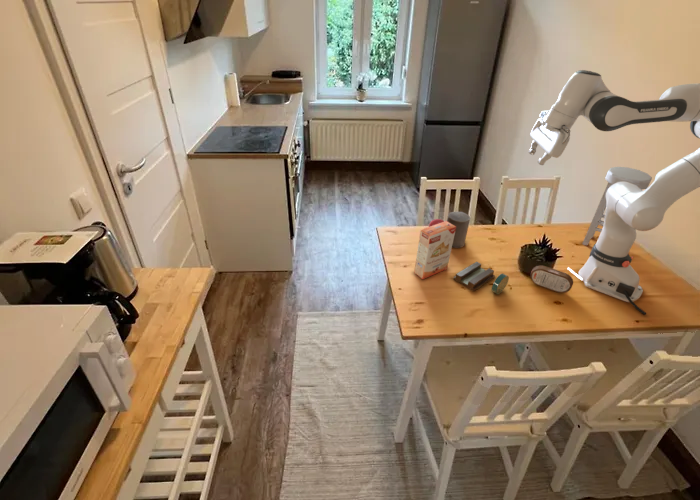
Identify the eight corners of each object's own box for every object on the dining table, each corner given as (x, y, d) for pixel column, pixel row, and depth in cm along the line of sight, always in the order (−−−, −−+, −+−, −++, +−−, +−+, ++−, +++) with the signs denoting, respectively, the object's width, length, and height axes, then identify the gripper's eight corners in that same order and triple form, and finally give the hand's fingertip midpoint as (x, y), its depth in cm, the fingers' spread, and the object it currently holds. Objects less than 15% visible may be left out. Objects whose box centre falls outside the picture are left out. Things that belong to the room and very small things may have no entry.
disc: (505, 289, 150) (510, 272, 146) (494, 297, 146) (499, 280, 141) (501, 286, 151) (506, 270, 147) (489, 294, 147) (494, 278, 143)
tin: (569, 292, 149) (576, 275, 144) (567, 297, 147) (575, 279, 142) (528, 278, 156) (534, 261, 151) (527, 282, 154) (533, 265, 149)
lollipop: (441, 245, 176) (446, 216, 167) (443, 254, 169) (448, 225, 161) (424, 244, 176) (429, 215, 168) (425, 253, 170) (430, 223, 162)
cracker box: (423, 280, 153) (430, 236, 142) (413, 272, 158) (419, 228, 146) (448, 269, 160) (457, 226, 148) (438, 262, 164) (445, 219, 153)
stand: (494, 277, 156) (496, 271, 154) (474, 291, 148) (475, 285, 147) (473, 266, 162) (474, 260, 161) (453, 278, 155) (454, 273, 153)
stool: (584, 231, 189) (613, 163, 170) (620, 243, 181) (654, 173, 161) (576, 244, 179) (605, 173, 160) (613, 256, 171) (648, 184, 151)
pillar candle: (442, 245, 175) (447, 217, 167) (444, 235, 183) (449, 207, 175) (464, 249, 173) (470, 220, 165) (465, 238, 181) (471, 210, 173)
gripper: (581, 134, 119) (554, 173, 127) (555, 115, 136) (533, 151, 144) (563, 128, 119) (537, 168, 126) (539, 109, 135) (518, 146, 143)
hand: (535, 158), depth 135 cm, fingers open, 8 cm apart
